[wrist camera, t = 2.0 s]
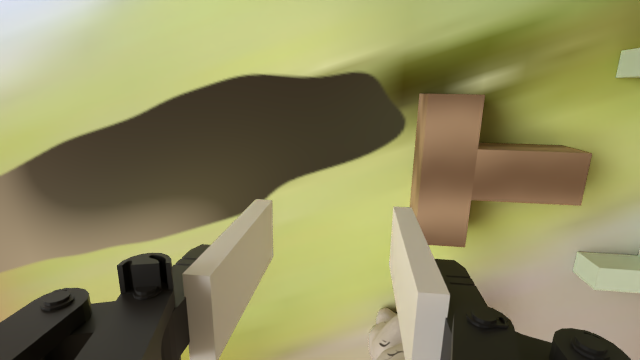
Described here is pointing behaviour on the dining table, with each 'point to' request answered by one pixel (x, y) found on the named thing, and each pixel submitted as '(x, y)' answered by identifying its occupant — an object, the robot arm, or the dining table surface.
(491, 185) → the t block
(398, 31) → the dining table surface
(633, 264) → the slot frame
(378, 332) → the figurine
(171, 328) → the robot arm
